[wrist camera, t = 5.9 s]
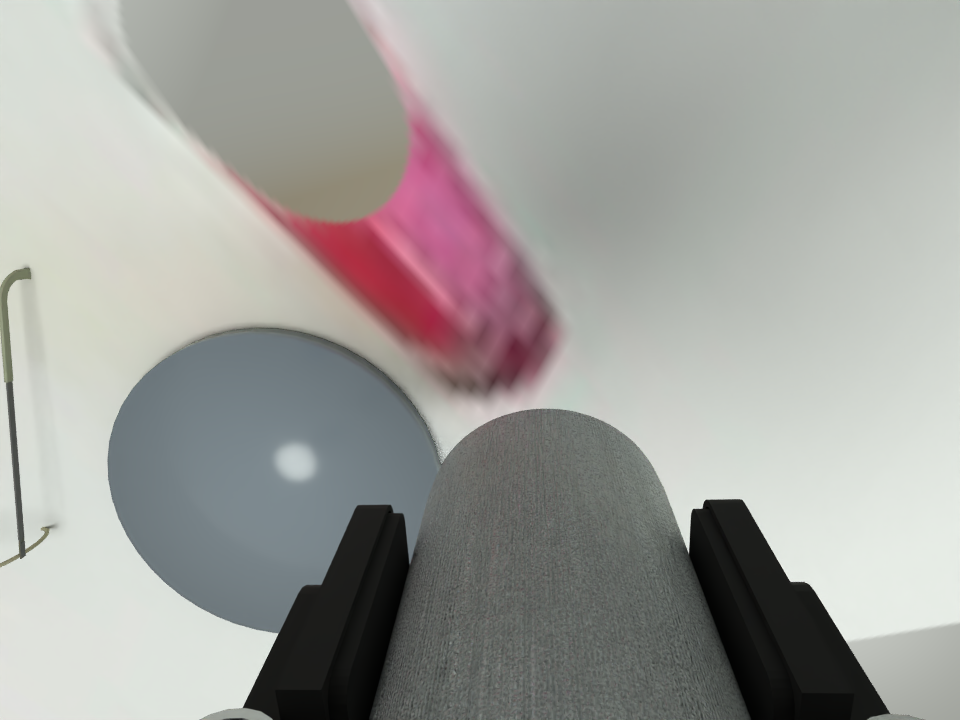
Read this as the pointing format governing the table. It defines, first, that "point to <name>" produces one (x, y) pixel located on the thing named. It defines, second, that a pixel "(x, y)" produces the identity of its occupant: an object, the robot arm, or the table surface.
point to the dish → (261, 466)
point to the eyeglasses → (2, 324)
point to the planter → (552, 588)
